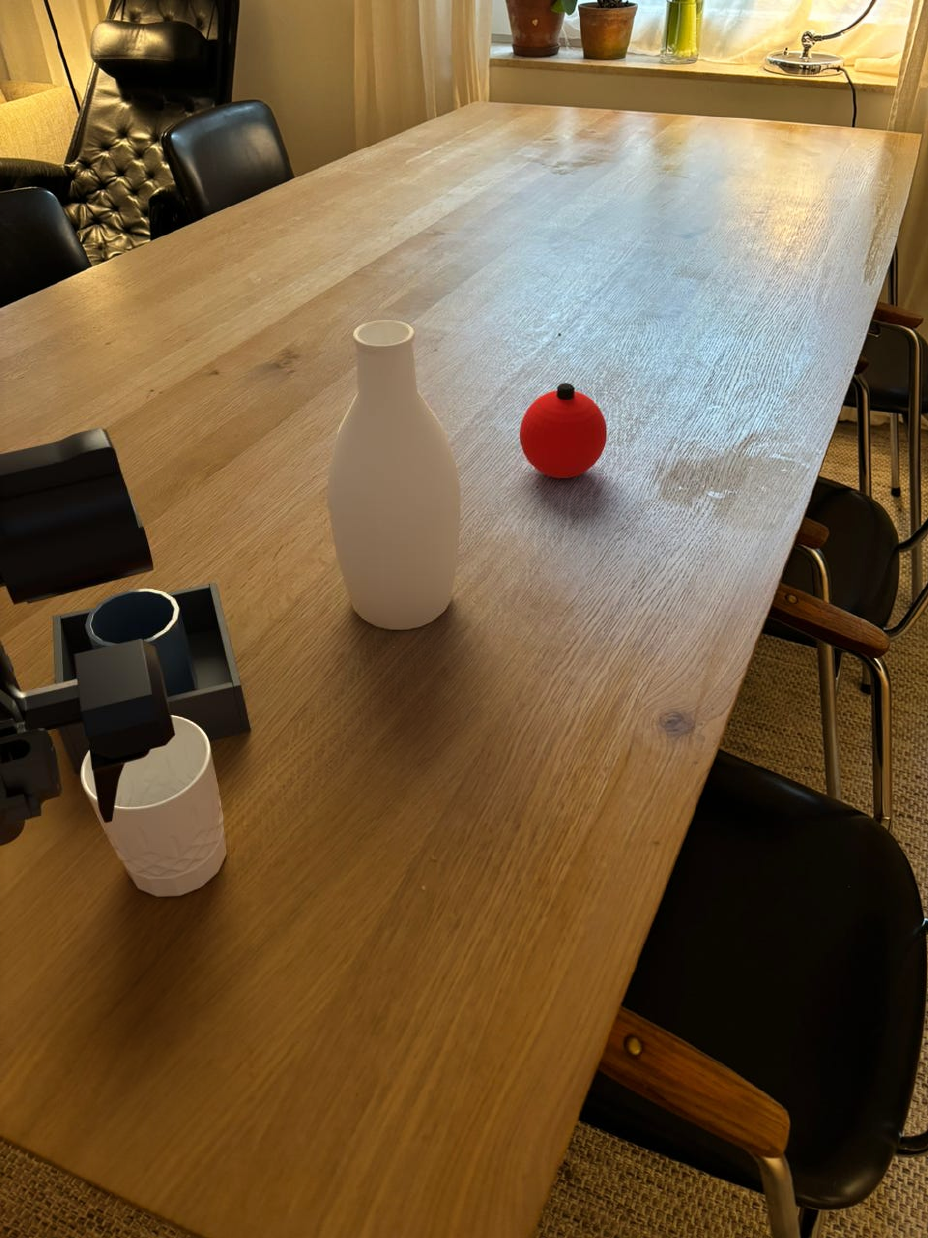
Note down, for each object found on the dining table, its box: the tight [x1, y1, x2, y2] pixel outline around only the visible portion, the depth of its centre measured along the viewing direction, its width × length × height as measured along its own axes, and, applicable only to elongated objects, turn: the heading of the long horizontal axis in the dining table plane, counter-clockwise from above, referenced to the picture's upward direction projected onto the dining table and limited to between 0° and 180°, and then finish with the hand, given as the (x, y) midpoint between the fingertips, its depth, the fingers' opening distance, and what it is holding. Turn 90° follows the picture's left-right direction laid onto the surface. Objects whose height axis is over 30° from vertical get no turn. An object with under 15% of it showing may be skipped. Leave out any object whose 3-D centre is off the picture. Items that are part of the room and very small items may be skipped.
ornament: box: [519, 382, 608, 479], centre depth 102 cm, size 9×9×10 cm
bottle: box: [326, 319, 462, 631], centre depth 81 cm, size 11×11×25 cm
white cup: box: [80, 715, 228, 898], centre depth 65 cm, size 8×8×10 cm
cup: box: [85, 588, 198, 697], centre depth 77 cm, size 7×7×8 cm
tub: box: [52, 581, 252, 775], centre depth 79 cm, size 13×13×5 cm
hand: (20, 840), depth 54 cm, fingers open, 9 cm apart
